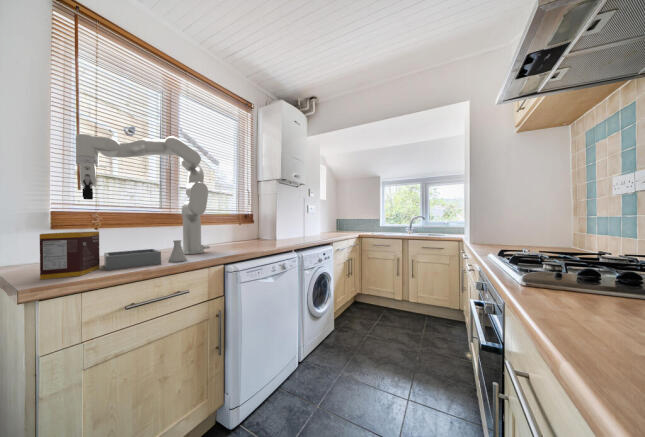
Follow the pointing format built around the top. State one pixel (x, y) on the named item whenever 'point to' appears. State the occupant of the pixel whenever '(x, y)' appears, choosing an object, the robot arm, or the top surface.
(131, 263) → the bin
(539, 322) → the top surface
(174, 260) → the flask
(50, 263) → the supplement box
